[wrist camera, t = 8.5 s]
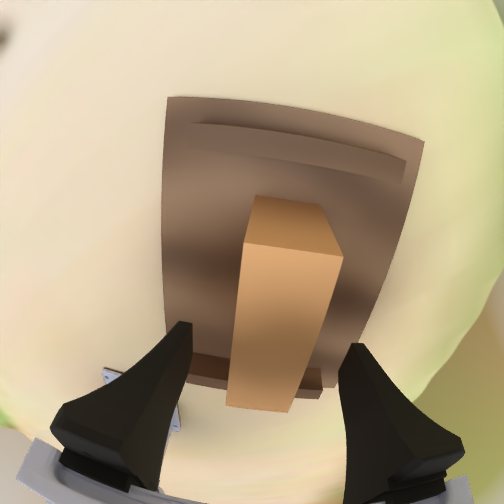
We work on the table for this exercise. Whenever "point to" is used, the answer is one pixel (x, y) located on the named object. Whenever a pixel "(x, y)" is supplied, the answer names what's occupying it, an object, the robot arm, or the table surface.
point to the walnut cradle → (284, 187)
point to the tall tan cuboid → (280, 301)
